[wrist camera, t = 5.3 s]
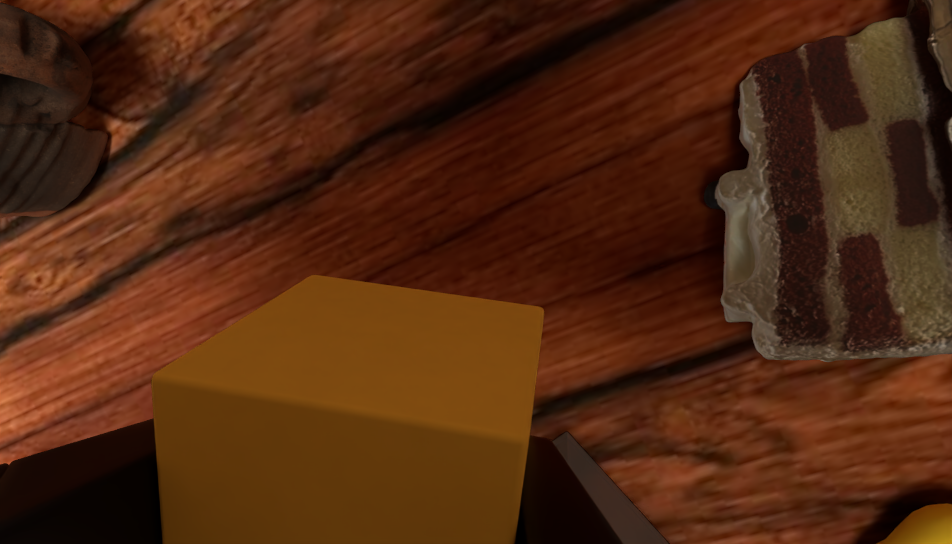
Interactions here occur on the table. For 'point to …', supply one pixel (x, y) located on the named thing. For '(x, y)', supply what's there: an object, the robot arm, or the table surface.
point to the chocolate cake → (845, 195)
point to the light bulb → (924, 527)
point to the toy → (350, 420)
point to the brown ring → (43, 116)
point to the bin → (608, 496)
